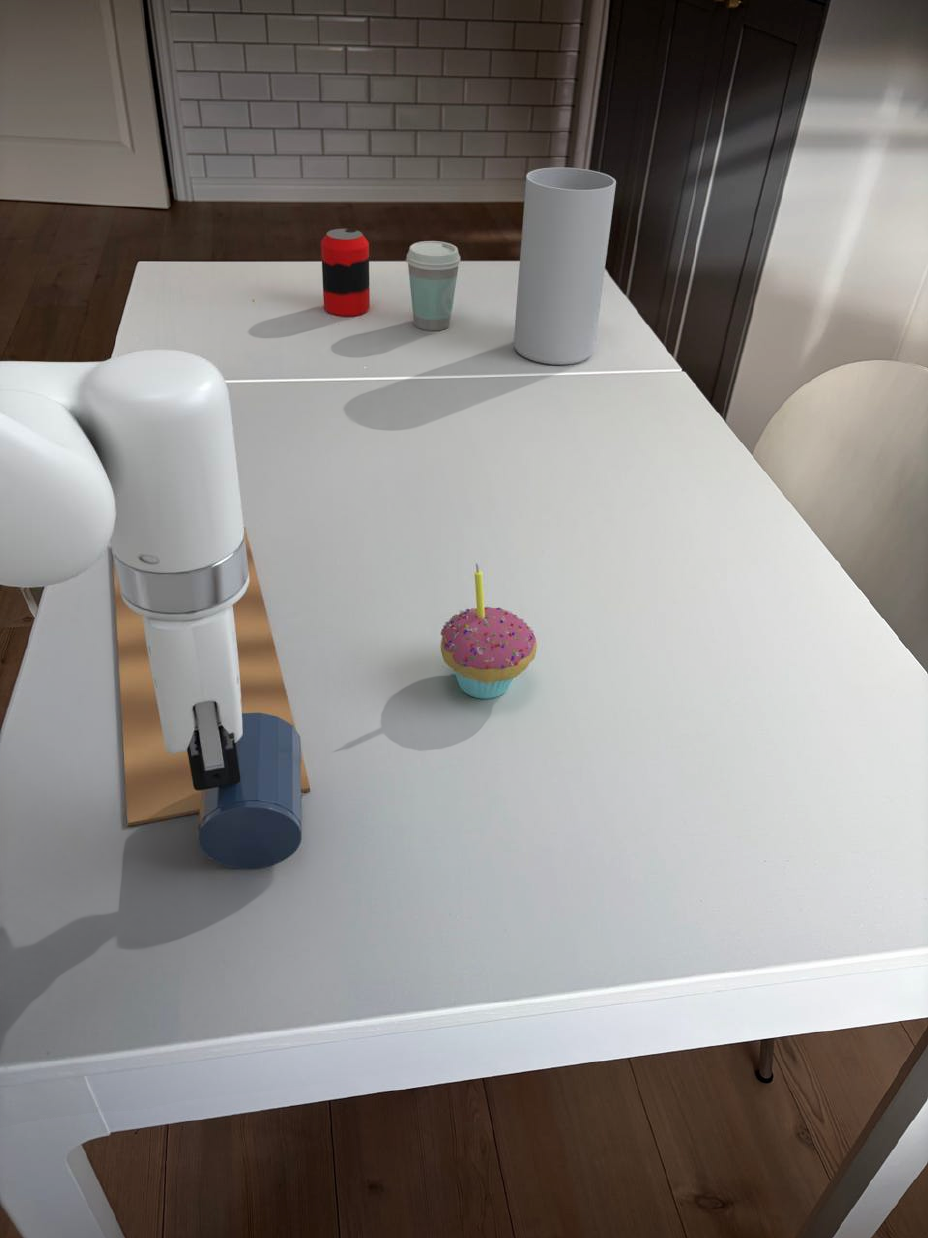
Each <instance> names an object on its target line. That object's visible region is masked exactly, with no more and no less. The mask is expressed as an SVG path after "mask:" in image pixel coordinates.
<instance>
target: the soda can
mask: <svg viewBox="0 0 928 1238" xmlns="http://www.w3.org/2000/svg"><path fill="white" fill-rule="evenodd" d="M320 251H321V253H320V254H321V273H322V274H321V275H322V296H323V297H322V298H323V300H322V301H323V308H324V310H325V311H326V312H327V313H328V314H330V315H333V316H338V317H356V316H361V315H363V314H366V313H367V312H368V311H369V310H370V308H371V300H370V299H371V298H370V296H371V295H370V290H371V289H370V243H369V241H368V240H367V238H366V237H365V235H364V234H363V232H361V231H360V230H357V229H354V228H353V229H351V228H336V229H331V230H329V231H327V232H326V234H325V236H324V237H323V238H322V239H321V241H320Z"/></svg>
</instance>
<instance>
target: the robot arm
mask: <svg viewBox="0 0 928 1238" xmlns="http://www.w3.org/2000/svg"><path fill="white" fill-rule="evenodd" d="M232 417H233V416H232V405H231V399H230V394H229V387H228V384H227V382H226V380H225V377H224V376H223V374H222V372H221V371H220V370H219V369H218V368H217V366H216V365H215V364H214V363H212V362H211V361H209V360H208V359H206V358H204V357H203V356H200V355H198V354H195V353H192V352H188V351H184V350H180V349H179V350H177V349H169V348H167V349H165V348H163V349H161V348H159V349H158V348H157V349H143V350H136V351H130V352H126V353H121V354H119V355H116V356H113V357H110V358H108V359H106V360H103V361H25V360H21V361H20V360H1V361H0V585H1V586H5V587H14V588H28V589H29V588H44V587H49V586H53V585H57V584H62V583H64V582H67V581H69V580H71V579H74V578H77V577H78V576H79V575H81V574H83V573H84V572H86V571H87V570H89V569H90V568H91V567H92V566H93V565H94V564H95V563H96V562H97V561H98V560H99V559H100V558H101V556H102V555H103V554H104V552H105V550H106V549H107V547H108V546H109V544H110V548H111V553H112V560H113V559H114V563H115V568H116V573H117V578H118V583H119V587H120V592H121V596H122V599H123V601H124V603H125V604H126V605H127V606H128V607H129V608H130V609H131V610H133V611H134V612H136V613H137V614H140V615H142V616H143V624H144V631H145V638H146V644H147V650H148V656H149V661H150V667H151V672H152V677H153V683H154V688H155V693H156V699H157V704H158V710H159V715H160V721H161V727H162V733H163V739H164V745H165V749H166V750H167V751H168V752H170V753H172V754H176V753H181V752H186V750H187V753H188V758H189V764H190V769H191V775H192V781H193V786H194V789H195V790H198V791H200V790H205V789H211V788H216V787H221V786H227V785H232V784H236V783H239V782H240V780H241V778H240V771H239V764H238V756H237V749H236V742H237V741H238V740H239V739H240V738H241V736H242V735H243V730H242V707H241V689H240V674H239V662H238V651H237V642H236V632H235V623H234V614H233V606H232V605H233V604H235V603H236V602H237V601H238V600H239V599H240V598H241V597H242V596H243V595H244V594H245V592H246V590H247V588H248V585H249V570H248V561H247V552H246V543H245V534H244V527H245V526H244V525H245V524H244V517H243V507H242V499H241V490H240V482H239V480H240V479H239V472H238V465H237V463H238V462H237V453H236V445H235V435H234V425H233V418H232Z"/></svg>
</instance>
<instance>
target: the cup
mask: <svg viewBox="0 0 928 1238" xmlns="http://www.w3.org/2000/svg"><path fill="white" fill-rule="evenodd" d="M295 729H296V727H295V728H294V727H293V726H292V725H291V724H290V723H288V722H286V721H285V720H283V719H281V718H280V717H278V716H273V715H269V714H265V713H242V730H243V735H242V736H241V738H240V739H239V740H238V741H237V742H236V749H237V756H238V764H239V771H240V778H241V780H240V782H239V783H236V784H232V785H227V786H221V787H216V788H211V789H205V790H201V802H200V813H198V814H199V815H198V825H197V826H198V827H197V831H198V835H197V836H198V839H197V840H198V844H199V848H200V850H201V851H202V852H203V854H205V855H206V857H208V858H209V859H210V860H212V861H214V862H216V863H218V864H221V865H222V866H226V867H229V868H234V869H240V870H241V869H244V870H245V869H246V870H251V869H252V870H253V869H262V868H267V867H271V866H274V865H276V864H280V863H281V862H283V861H286V860H287V859H288V858H290V857H291V856H292V855H293V854H294V853H296V851H297V850H298V849H299V847H300V844H301V842H302V836H303V820H302V819H303V815H302V814H303V813H302V812H303V811H302V809H303V808H302V806H303V805H302V803H303V802H302V793H301V753H302V744H301V735H300V733H298V731H297V729H296V730H295Z"/></svg>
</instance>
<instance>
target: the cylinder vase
mask: <svg viewBox="0 0 928 1238" xmlns="http://www.w3.org/2000/svg"><path fill="white" fill-rule="evenodd" d="M616 185H617V181H616V179H615V178H614V177H612V176H611V175H609V174H607V173H603V172H600V171H595V170H591V169H585V168H579V167H578V168H577V167H545V168H538V169H534V170H530V171H529V172H528V173H527V174H526V176H525V190H524V201H523V216H522V229H521V242H520V243H521V244H520V255H519V269H518V279H517V280H518V281H517V293H516V304H515V305H516V307H515V318H514V319H515V321H514V330H513V332H514V334H513V347H514V349H515V350H516V352H517V353H518V354H519V355H521V357H523V358H526V359H527V360H530V361H532V362H537V363H540V364H546V365H554V366H555V365H556V366H562V365H563V366H564V365H573V364H578V363H581V362H584V361H586V360H588V359H589V358H590V357H591V356H592V355H593V354H594V352H595V349H596V342H597V341H596V340H597V335H598V334H597V333H598V327H599V317H600V310H601V301H602V294H603V286H604V279H605V271H606V262H607V256H608V250H609V249H608V248H609V240H610V233H611V225H612V218H613V217H612V216H613V209H614V202H615V195H616V194H615V193H616Z"/></svg>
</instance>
